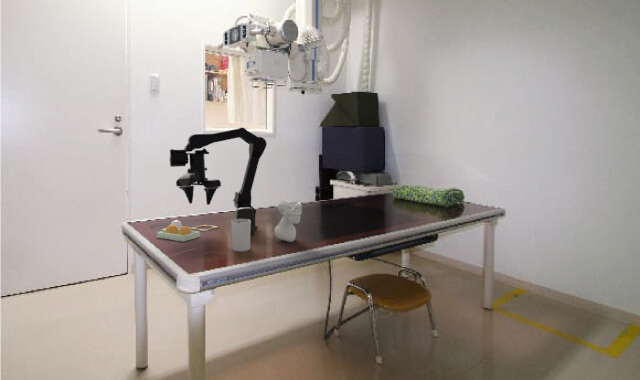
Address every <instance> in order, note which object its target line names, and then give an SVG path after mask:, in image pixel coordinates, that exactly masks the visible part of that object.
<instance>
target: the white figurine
mask: <svg viewBox="0 0 640 380" xmlns="http://www.w3.org/2000/svg"><path fill="white" fill-rule="evenodd" d="M302 207H303V204H302V202H299V201H298V200H293V201H290V202H286V201H285V200H282V201H280V202H279V203H278V205H277V211H278V213H279V214H281V215H282V217H281V219H280V221H279V222H278V224H277V225H276V227H275V228H274V230H273V232H274V235H275V237H276V238H277V239H279V240H281V241H285V242H288V243H293V242H294V241H295V240H296V236H297V229H296V227H295V226H294V224H295V225H297V224H299V223H300V221H301V216H302V213H303V210H302Z"/></svg>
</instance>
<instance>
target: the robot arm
mask: <svg viewBox="0 0 640 380" xmlns="http://www.w3.org/2000/svg"><path fill="white" fill-rule="evenodd" d="M238 138H239V139H241V140H242V141H244V142H245V143H247V144H248V145H249V146H248V160H247V165H246V169H245V172H244V176H243V180H242V184H241V187H240V190H239V191H238V192H237V191H235V192H234V198H233V199H232V201H233V205H234V207H235V209H238V208H243V207H250V208H252V209H253V210H254V229H257V228H258V227H259V226H258V225H256V214H257V210H256V209H255V207H254V206H252V190H253V185H254V181H255V177H256V174H257V169H258V165H259V162H260V159H261V158H262V156H263V154H264V152H265V150H266V148H267V141H266V139H265V138H263V136H258V135H256V134H254V133H252V132H251V131H248V130H247V129H246V128H244V127H238V128H234V129H228V130H224V131H220V132H219V131H218V132H214V133H200V134H199V133H195V134H191V135H190V136H189V137H188V139H187V143H186V145H185V146H184V149H174V148H173V149H172V148H171V149H169V166H170V168H171V167H175V168H176V167H186V165H187V164H189V168H187V170H186V171H187V172H186V173H185V174H182V176H179V177H178V178H177V179H176V182H175V183H176V187H178V188H179V189H180V190H182V191H183V193H184V194H185V196H186V198H187V201H188V203H189V204H193V199H194V189H195V186H203V187H204V188H203V191H204V192H205V196H206V197H205V199H206V205H207V206H208V205H210V204H211V202H212V199H213V197H214V195H215V193H216V191H217V189H219V188H220V187H222V183H221V180H220V179H208V177H206V171H208V167H206V164H205V155H209V154H210V152H209V151H208V150H207V149H206V148H205V147H207V146H210V145H211V144H214V143H219V142H222V141H228V140H233V139H238ZM200 149H201V150H200ZM193 151H194V152H193Z"/></svg>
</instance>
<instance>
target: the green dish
mask: <svg viewBox="0 0 640 380" xmlns="http://www.w3.org/2000/svg"><path fill="white" fill-rule="evenodd" d="M179 230H180V229H179V228H178V233H177V234H170V233H166V230H164V231H162V230H160V231H157V232H156V236H157V237H156V238H158V239H164V240H171V241H178V242H186V241H190V240H194V239H196V238H200V237H201V231H198V230H191V234H187V235H179Z"/></svg>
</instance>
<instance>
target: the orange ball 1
mask: <svg viewBox="0 0 640 380" xmlns="http://www.w3.org/2000/svg"><path fill="white" fill-rule="evenodd" d="M165 228H166V233H170V234H177V233H178V228H177V226H175V225H171V224H169V225H168V226H167V227H165Z"/></svg>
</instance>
